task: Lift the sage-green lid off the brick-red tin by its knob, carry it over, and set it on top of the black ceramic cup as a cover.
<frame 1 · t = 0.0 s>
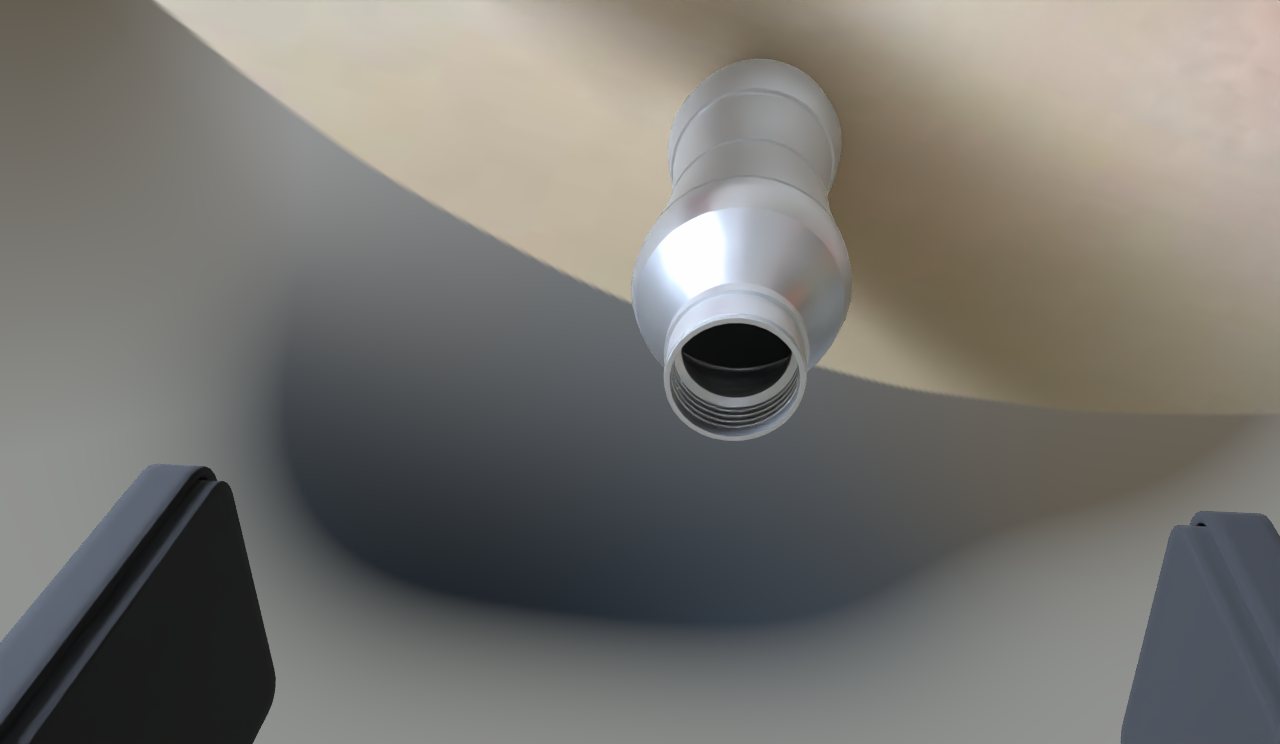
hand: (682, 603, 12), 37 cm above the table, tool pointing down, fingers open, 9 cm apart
plastic bottle: (755, 126, 47), on the table
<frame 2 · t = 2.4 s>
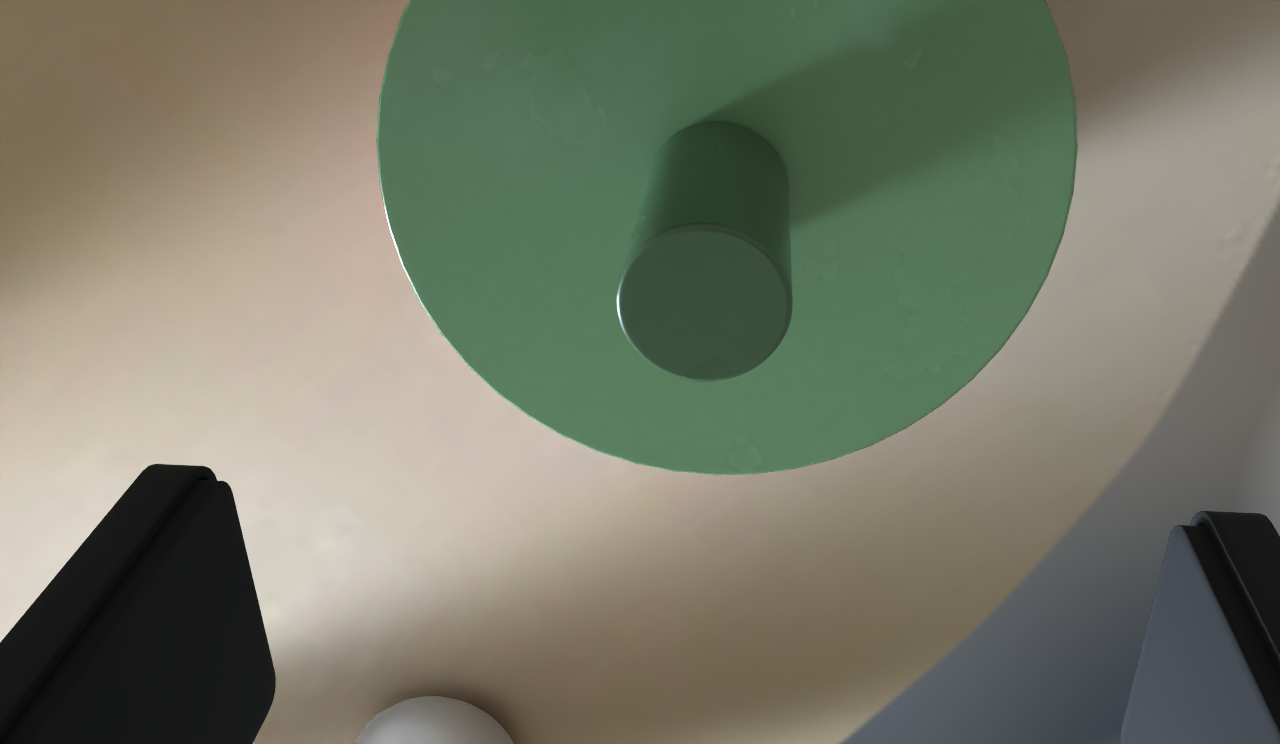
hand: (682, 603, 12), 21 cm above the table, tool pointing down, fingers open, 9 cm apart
lid: (717, 177, 22), point 9 cm above the table, touching tin
plastic bottle: (451, 734, 44), on the table
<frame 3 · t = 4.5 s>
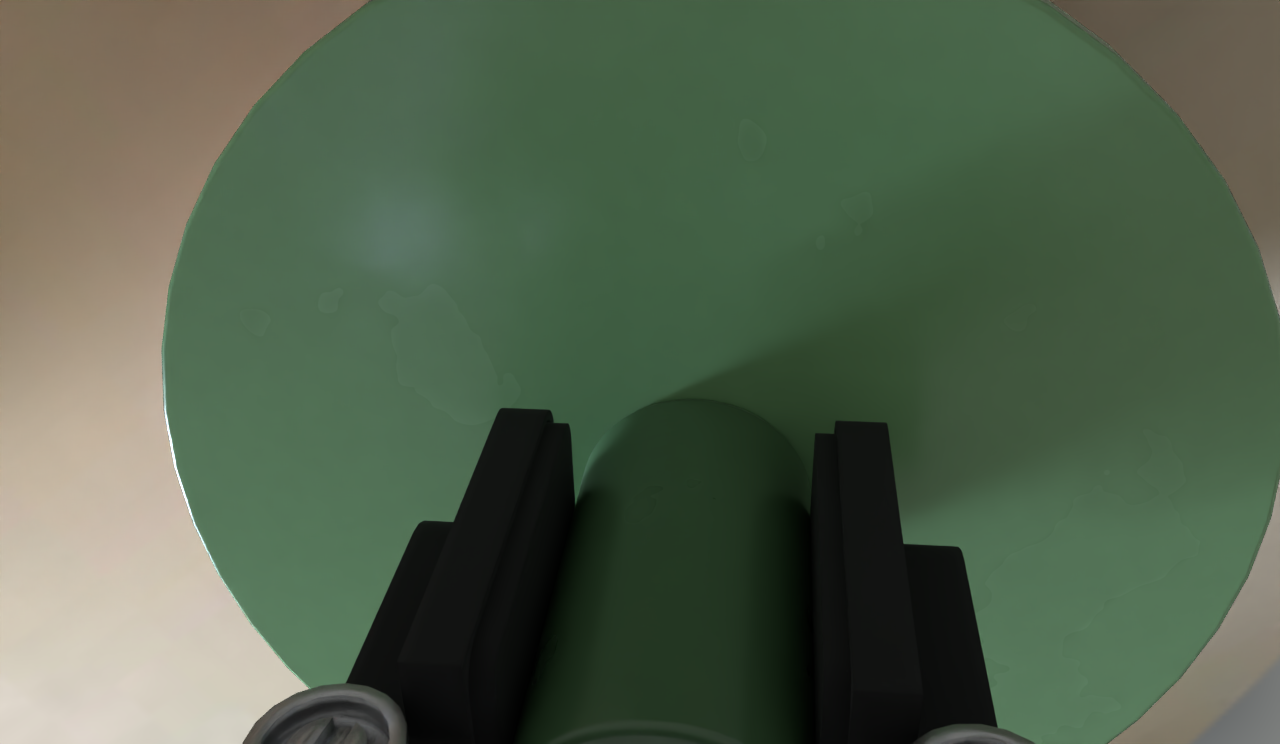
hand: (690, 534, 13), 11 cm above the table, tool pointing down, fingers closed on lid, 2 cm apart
lid: (699, 463, 14), point 10 cm above the table, touching gripper, tin
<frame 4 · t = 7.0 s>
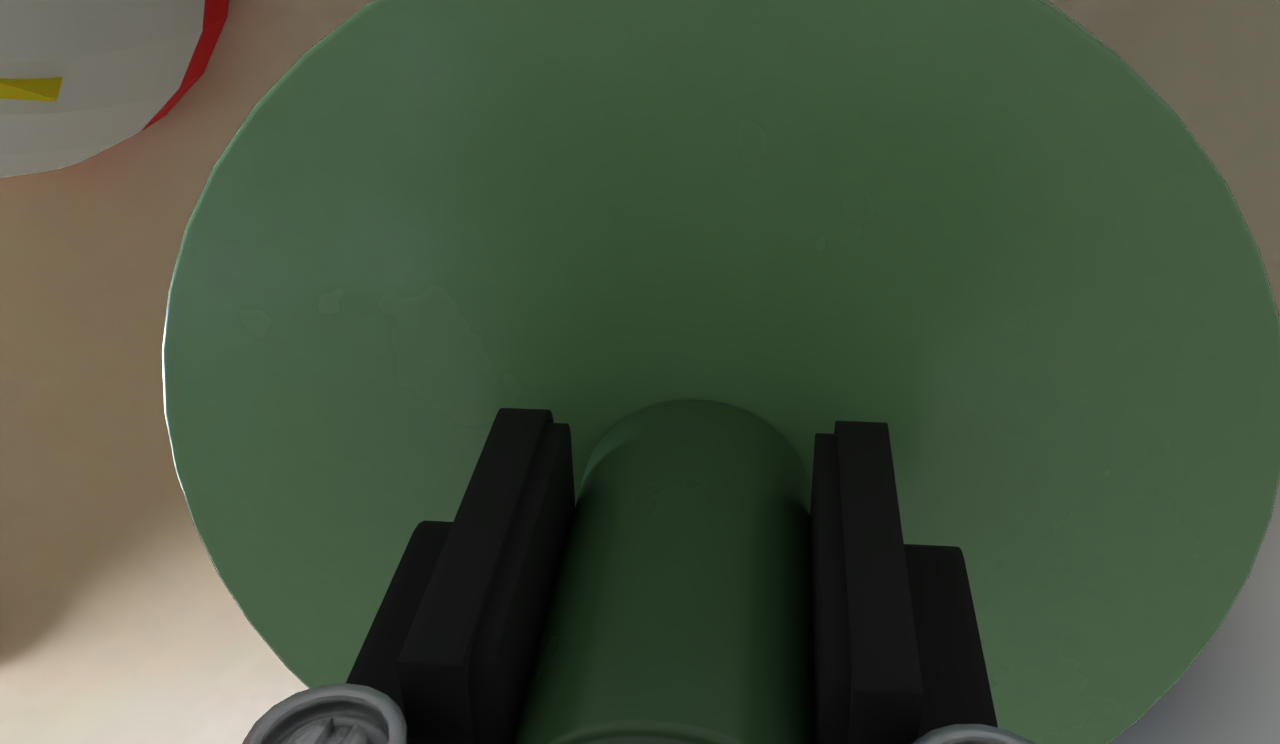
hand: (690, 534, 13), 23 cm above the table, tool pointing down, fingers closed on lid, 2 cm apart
lid: (699, 464, 14), point 22 cm above the table, touching gripper
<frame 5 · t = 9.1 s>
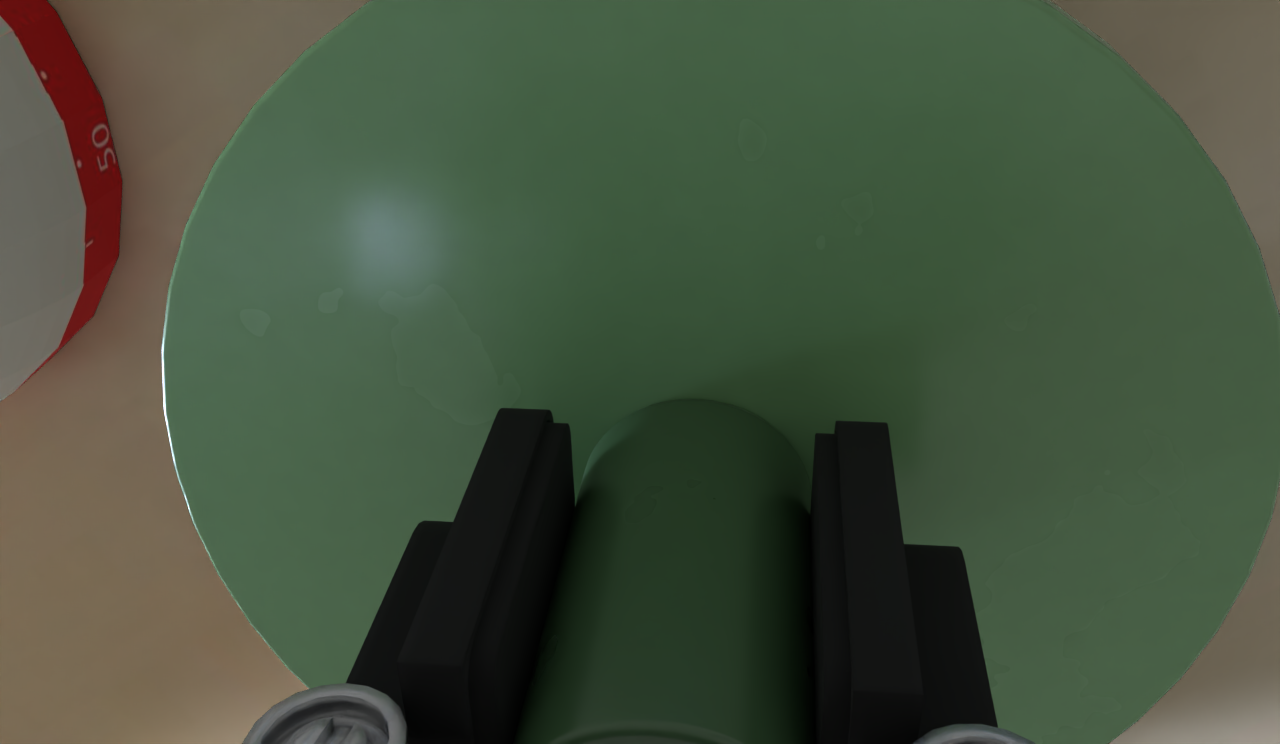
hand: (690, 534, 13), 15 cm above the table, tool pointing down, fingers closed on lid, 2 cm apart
lid: (699, 463, 14), point 13 cm above the table, touching gripper
when the fingers open (12 cm above the table, at t = 9.9 s): lid stays where it is, resting on cup.
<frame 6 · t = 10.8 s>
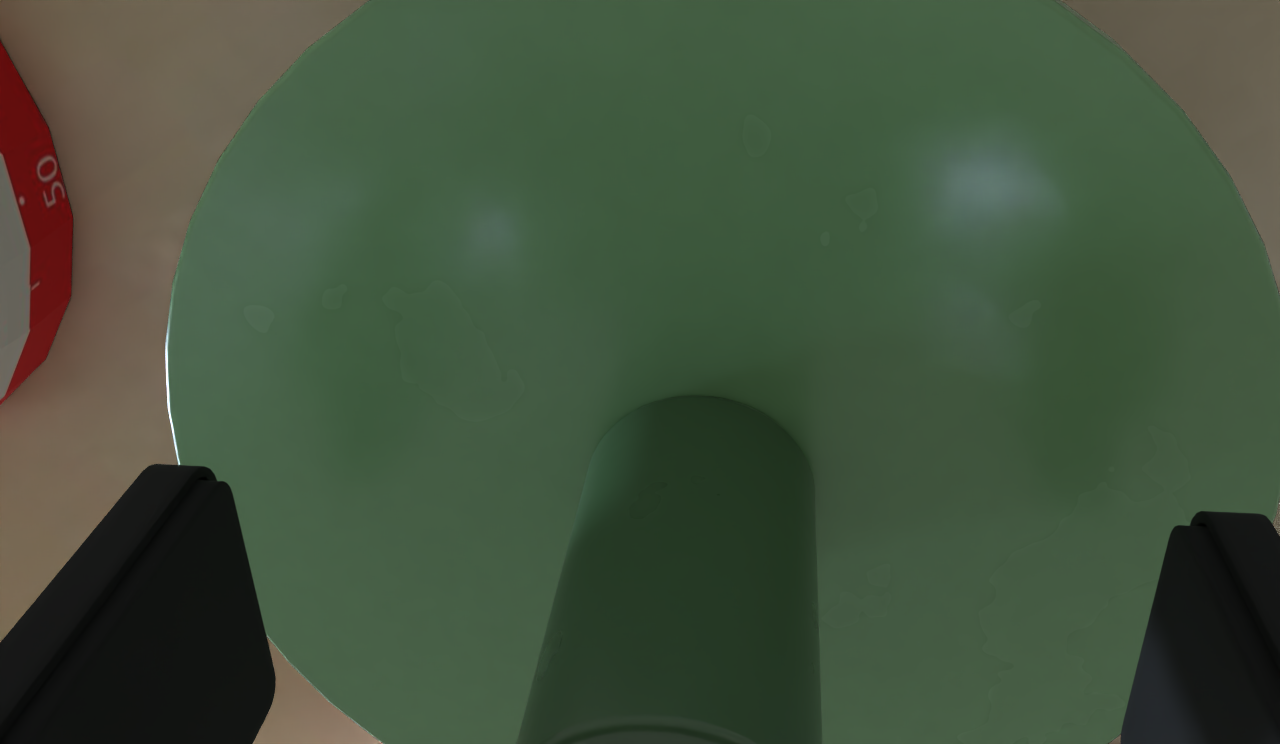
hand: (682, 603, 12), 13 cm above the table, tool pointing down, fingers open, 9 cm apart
lid: (703, 460, 14), point 11 cm above the table, touching cup
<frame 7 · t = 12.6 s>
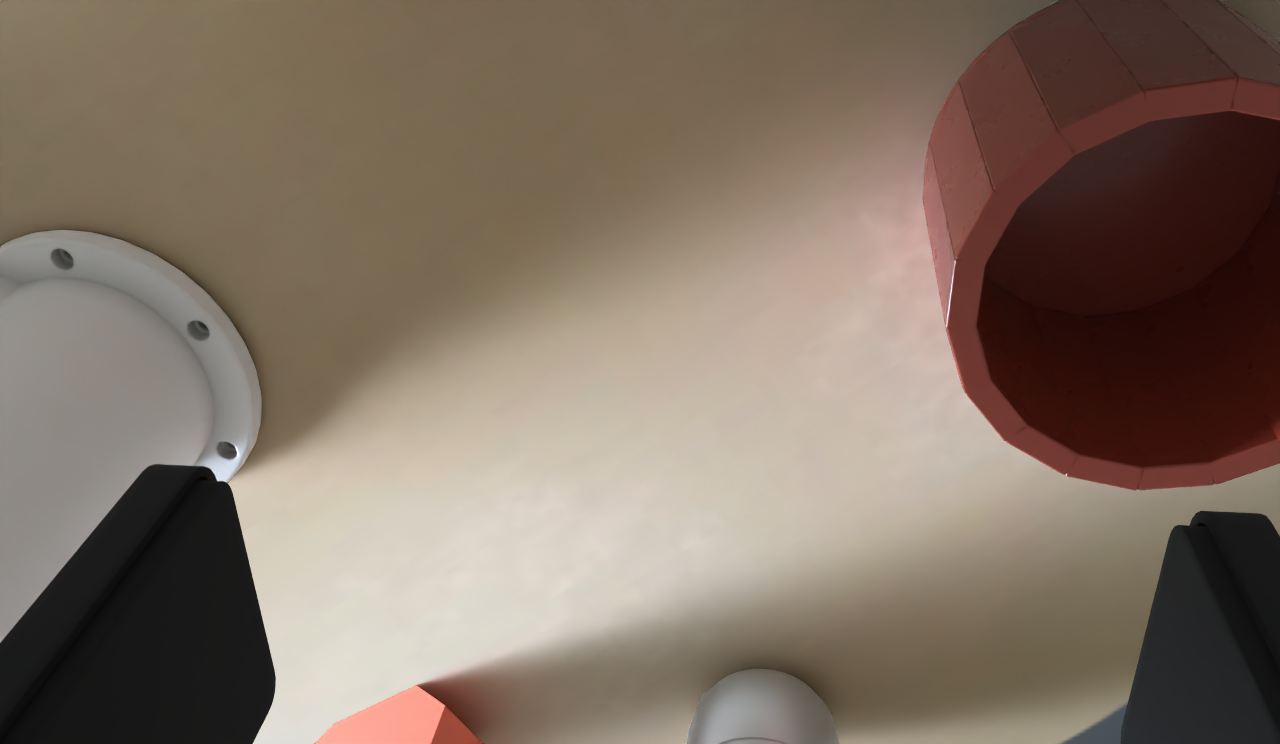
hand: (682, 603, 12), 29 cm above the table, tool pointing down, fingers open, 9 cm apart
french fries container: (401, 727, 57), on the table
tin: (1107, 170, 38), on the table
plastic bottle: (766, 701, 53), on the table
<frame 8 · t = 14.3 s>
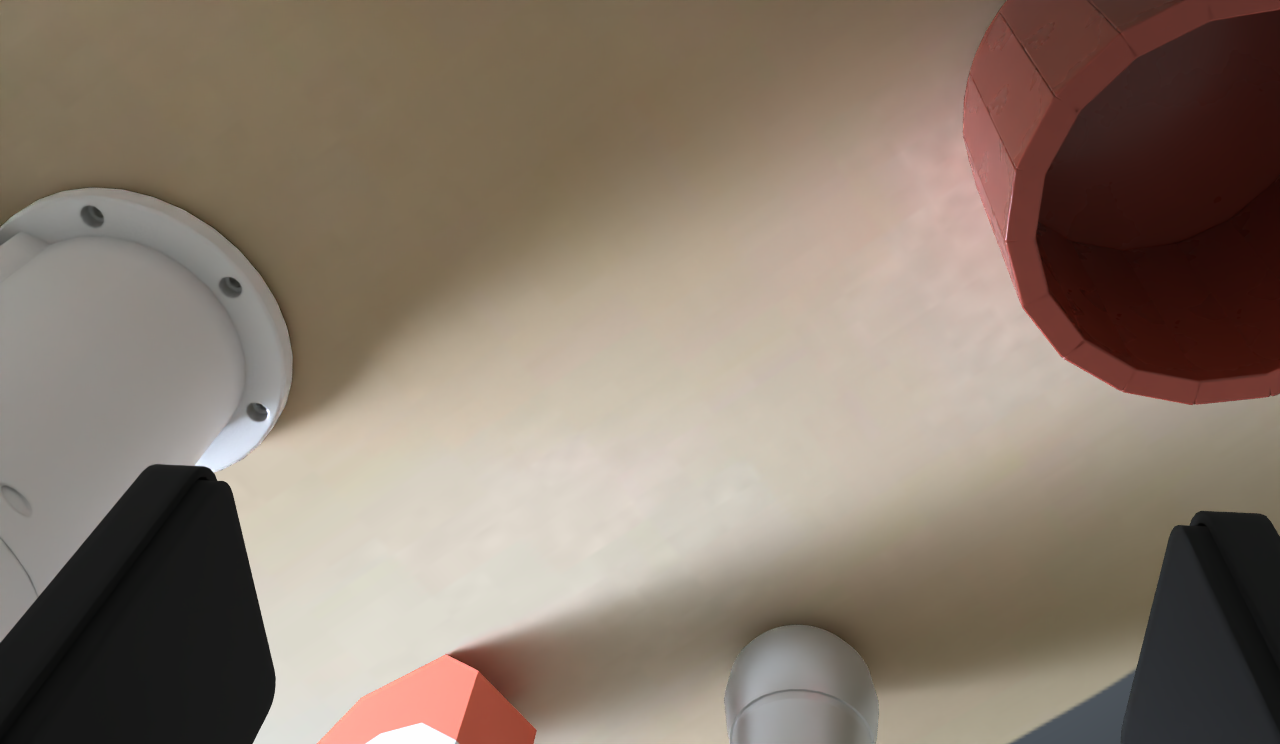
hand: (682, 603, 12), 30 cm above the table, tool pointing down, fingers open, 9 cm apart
french fries container: (430, 699, 56), on the table
tin: (1145, 100, 39), on the table
plastic bottle: (800, 659, 52), on the table
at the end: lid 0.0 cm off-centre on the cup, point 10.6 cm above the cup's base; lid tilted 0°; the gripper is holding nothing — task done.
